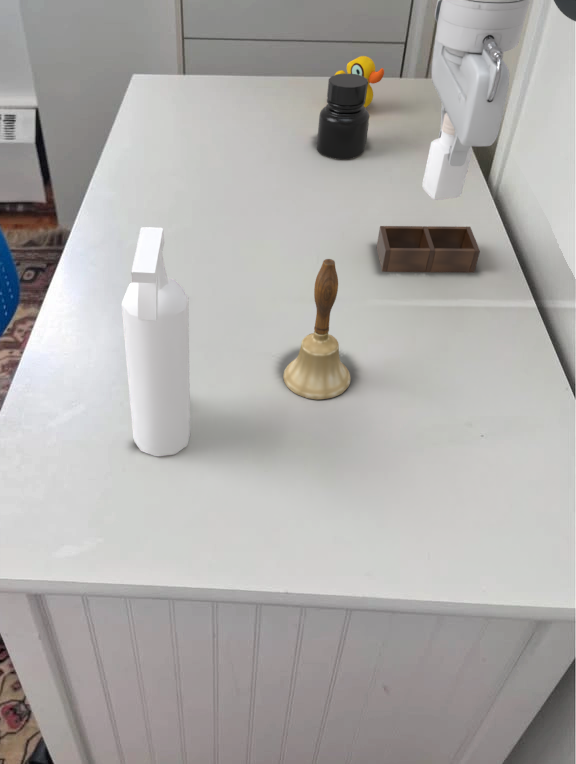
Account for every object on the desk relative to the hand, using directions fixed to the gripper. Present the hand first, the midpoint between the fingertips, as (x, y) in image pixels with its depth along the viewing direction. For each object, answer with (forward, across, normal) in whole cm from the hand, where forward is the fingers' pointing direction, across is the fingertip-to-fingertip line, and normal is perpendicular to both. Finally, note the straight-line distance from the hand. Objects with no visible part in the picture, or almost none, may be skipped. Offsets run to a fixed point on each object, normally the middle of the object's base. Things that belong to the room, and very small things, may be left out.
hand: (450, 152), depth 87 cm
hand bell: (+20, -20, +16) cm, 32 cm away
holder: (+19, +6, -2) cm, 20 cm away
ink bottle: (+20, +46, +7) cm, 51 cm away
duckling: (+20, +65, +3) cm, 68 cm away
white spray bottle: (+20, -29, +34) cm, 49 cm away
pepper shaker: (+5, 0, 0) cm, 5 cm away
